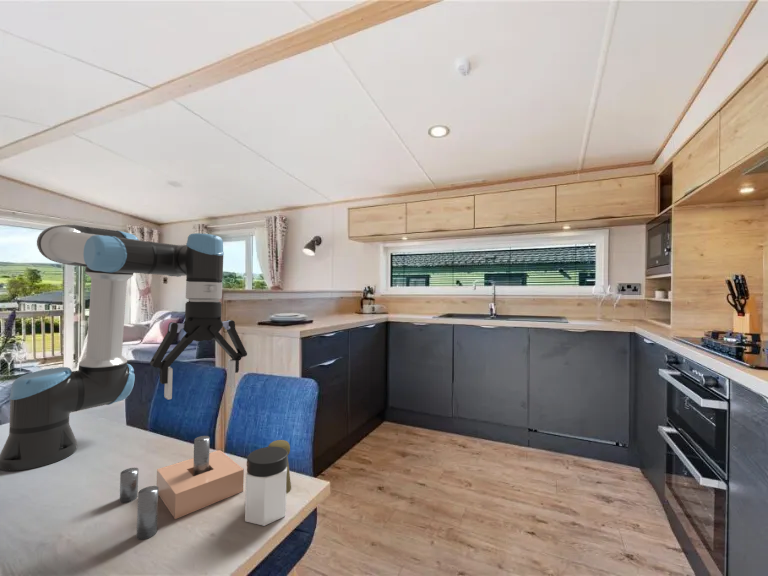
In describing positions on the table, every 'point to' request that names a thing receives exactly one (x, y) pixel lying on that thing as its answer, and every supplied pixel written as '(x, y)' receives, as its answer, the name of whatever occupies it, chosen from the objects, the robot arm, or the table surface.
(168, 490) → the socket block
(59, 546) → the table surface
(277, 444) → the olive pawn
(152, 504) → the medium pin
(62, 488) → the table surface
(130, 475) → the short pin
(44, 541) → the table surface
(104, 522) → the table surface
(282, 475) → the jar
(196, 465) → the long pin
